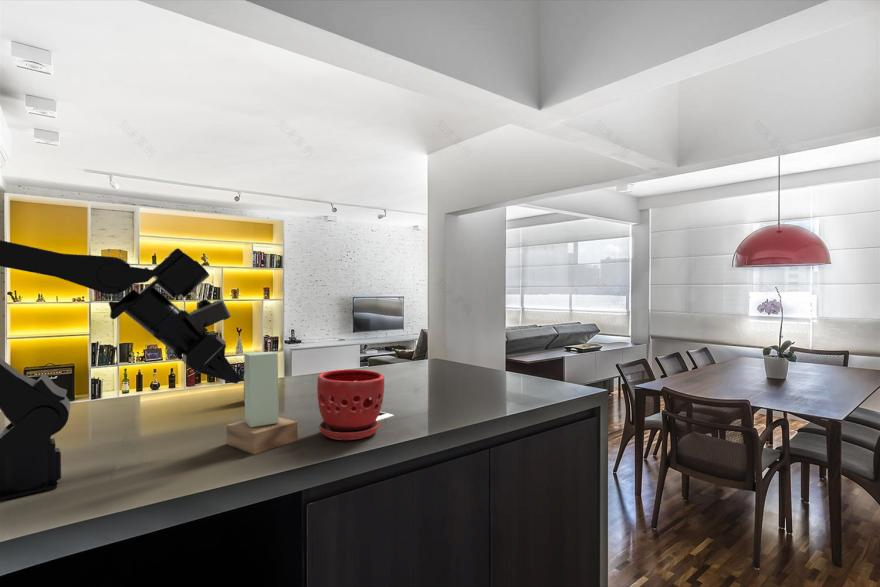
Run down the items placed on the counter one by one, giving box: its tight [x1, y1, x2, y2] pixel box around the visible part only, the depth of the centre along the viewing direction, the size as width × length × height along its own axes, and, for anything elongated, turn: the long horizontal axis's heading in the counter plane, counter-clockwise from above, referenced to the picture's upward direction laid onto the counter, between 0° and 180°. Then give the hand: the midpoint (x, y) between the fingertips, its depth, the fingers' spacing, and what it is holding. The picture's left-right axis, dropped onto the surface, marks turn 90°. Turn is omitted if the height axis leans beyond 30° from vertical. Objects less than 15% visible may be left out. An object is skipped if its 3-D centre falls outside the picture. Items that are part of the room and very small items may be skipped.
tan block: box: [226, 416, 298, 455], centre depth 87 cm, size 9×9×4 cm
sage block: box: [243, 351, 280, 427], centre depth 87 cm, size 5×5×13 cm
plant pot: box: [316, 369, 385, 441], centre depth 92 cm, size 13×13×12 cm
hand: (231, 377), depth 83 cm, fingers open, 9 cm apart
